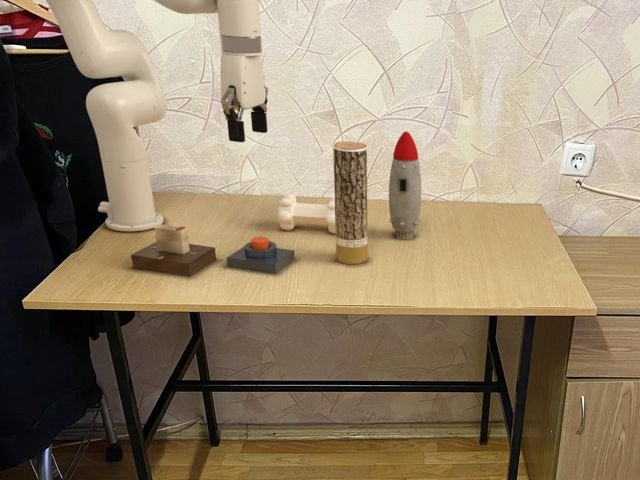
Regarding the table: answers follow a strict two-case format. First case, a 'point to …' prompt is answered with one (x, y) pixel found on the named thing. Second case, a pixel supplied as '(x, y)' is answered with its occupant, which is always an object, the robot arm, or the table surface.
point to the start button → (260, 243)
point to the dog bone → (305, 213)
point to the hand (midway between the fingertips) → (248, 136)
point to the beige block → (172, 239)
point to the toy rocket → (405, 187)
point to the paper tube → (350, 201)
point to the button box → (261, 258)
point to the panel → (174, 260)
